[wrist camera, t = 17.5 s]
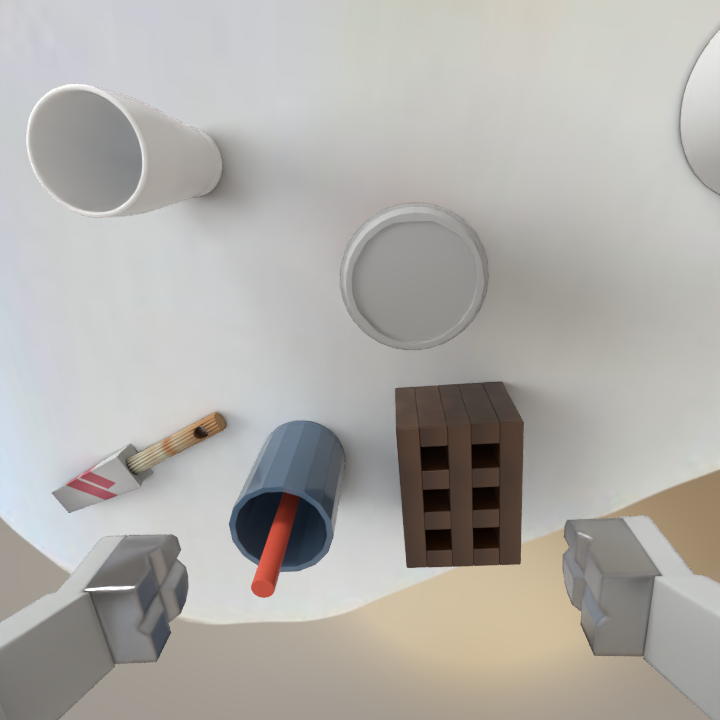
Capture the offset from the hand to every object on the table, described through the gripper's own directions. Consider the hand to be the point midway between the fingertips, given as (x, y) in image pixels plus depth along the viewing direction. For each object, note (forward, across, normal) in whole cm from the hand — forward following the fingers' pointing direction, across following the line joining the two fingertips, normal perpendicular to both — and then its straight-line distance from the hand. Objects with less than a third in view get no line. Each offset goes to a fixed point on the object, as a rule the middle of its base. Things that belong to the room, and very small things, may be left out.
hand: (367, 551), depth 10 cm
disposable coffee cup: (+34, -2, -1) cm, 34 cm away
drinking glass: (+34, +15, -10) cm, 39 cm away
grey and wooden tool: (+34, +26, +17) cm, 46 cm away
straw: (+33, +10, +18) cm, 39 cm away
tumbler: (+34, +9, +18) cm, 40 cm away
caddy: (+34, -5, +18) cm, 39 cm away
